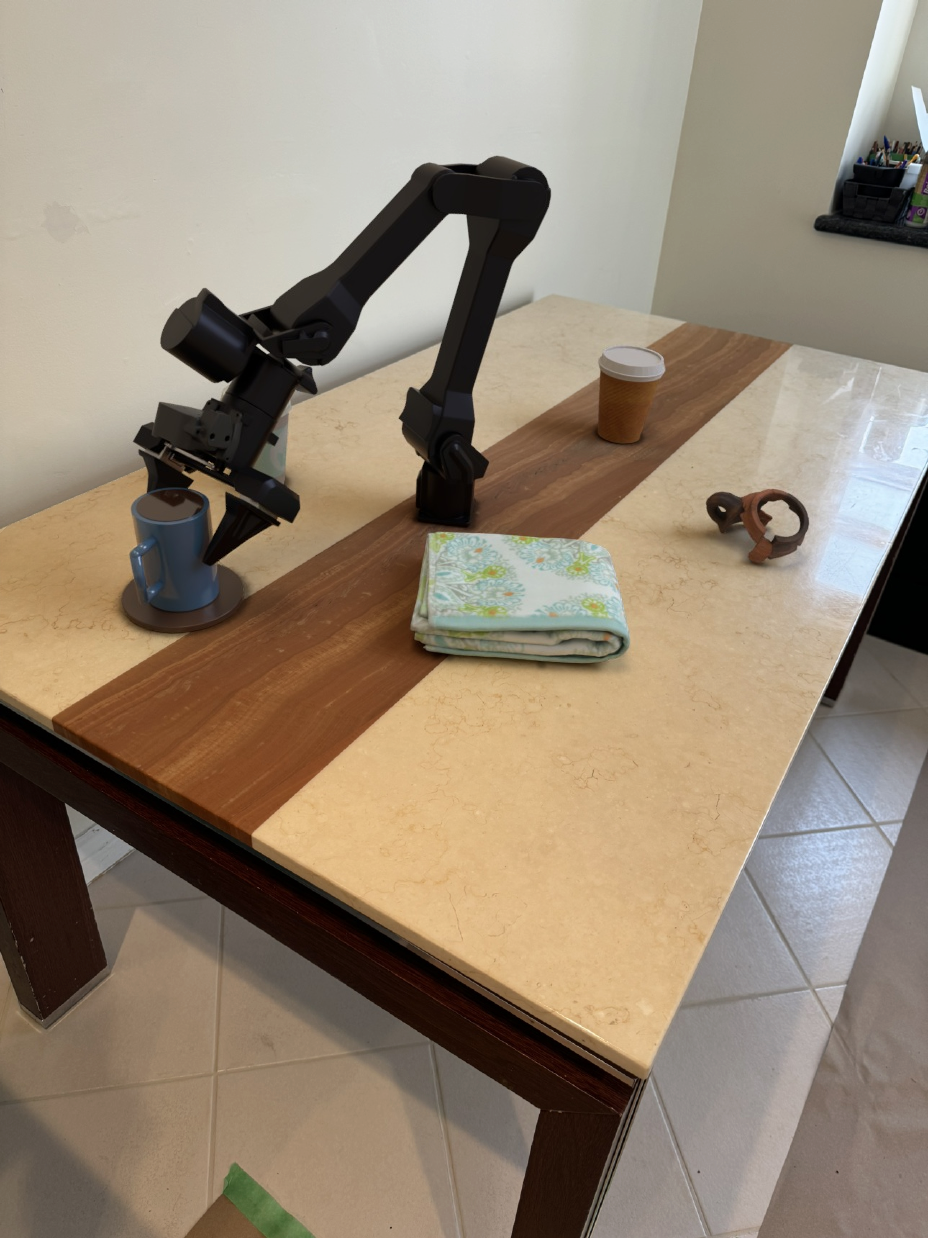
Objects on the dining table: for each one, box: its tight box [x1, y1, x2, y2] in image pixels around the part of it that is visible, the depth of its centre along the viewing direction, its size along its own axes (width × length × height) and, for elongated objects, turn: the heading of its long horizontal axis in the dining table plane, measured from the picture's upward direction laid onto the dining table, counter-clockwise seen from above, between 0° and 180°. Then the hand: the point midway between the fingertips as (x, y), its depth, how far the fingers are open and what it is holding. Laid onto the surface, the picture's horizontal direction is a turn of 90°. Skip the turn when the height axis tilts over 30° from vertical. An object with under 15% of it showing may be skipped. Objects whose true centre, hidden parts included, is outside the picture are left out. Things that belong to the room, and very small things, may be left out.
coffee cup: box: [218, 384, 293, 485], centre depth 107 cm, size 9×8×12 cm
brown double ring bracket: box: [705, 488, 810, 564], centre depth 105 cm, size 12×10×8 cm
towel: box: [410, 531, 631, 664], centre depth 90 cm, size 18×21×5 cm
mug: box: [128, 488, 220, 612], centre depth 85 cm, size 10×7×10 cm
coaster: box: [121, 563, 245, 634], centre depth 89 cm, size 12×12×1 cm
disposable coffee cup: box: [597, 344, 666, 444], centre depth 126 cm, size 10×10×12 cm
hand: (175, 547), depth 86 cm, fingers open, 9 cm apart
